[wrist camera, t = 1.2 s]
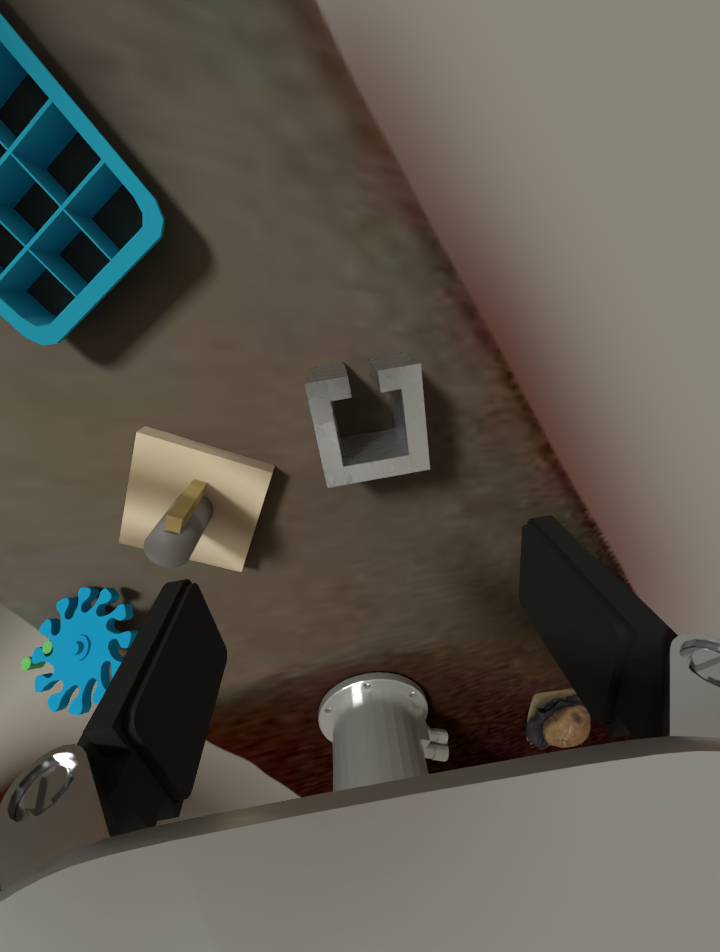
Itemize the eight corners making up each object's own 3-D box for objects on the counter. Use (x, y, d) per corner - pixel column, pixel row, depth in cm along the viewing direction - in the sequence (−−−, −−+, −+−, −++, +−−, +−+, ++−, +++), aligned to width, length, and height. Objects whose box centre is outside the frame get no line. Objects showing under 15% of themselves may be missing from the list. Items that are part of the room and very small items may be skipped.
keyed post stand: (244, 561, 34) (226, 619, 28) (127, 532, 32) (78, 588, 26) (275, 465, 31) (261, 507, 24) (145, 425, 29) (93, 460, 22)
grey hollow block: (411, 440, 31) (430, 469, 25) (327, 455, 31) (327, 487, 25) (402, 351, 28) (420, 363, 22) (308, 368, 28) (304, 383, 22)
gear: (127, 576, 32) (121, 710, 29) (175, 579, 38) (175, 691, 34) (22, 598, 34) (5, 726, 31) (82, 597, 39) (73, 706, 36)
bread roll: (527, 689, 46) (543, 719, 43) (594, 680, 46) (614, 709, 43) (518, 742, 51) (532, 773, 47) (579, 734, 51) (597, 764, 47)
